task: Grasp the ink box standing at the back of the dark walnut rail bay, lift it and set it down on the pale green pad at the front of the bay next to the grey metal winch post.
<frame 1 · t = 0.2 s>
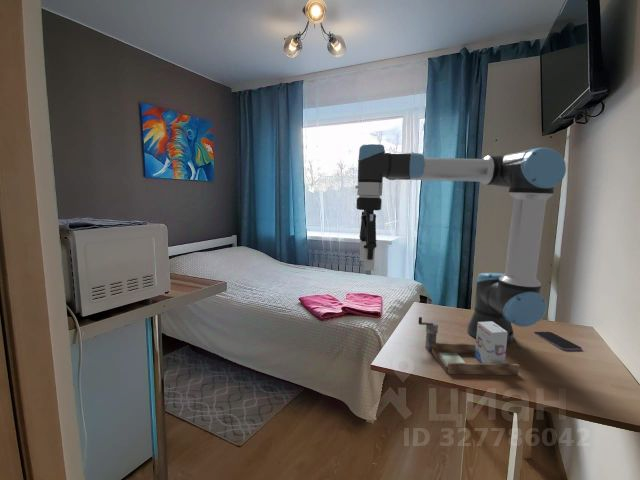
hand: (366, 265, 107), 28 cm above the table, fingers open, 13 cm apart
smartphone: (556, 342, 121), on the table
bay: (472, 362, 103), on the table
ink box: (488, 363, 104), on the table
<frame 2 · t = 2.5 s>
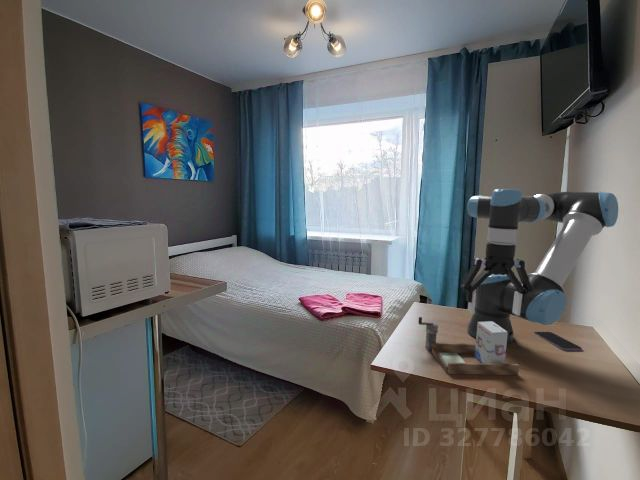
hand: (493, 313, 101), 16 cm above the table, fingers open, 13 cm apart
nothing on the table moved.
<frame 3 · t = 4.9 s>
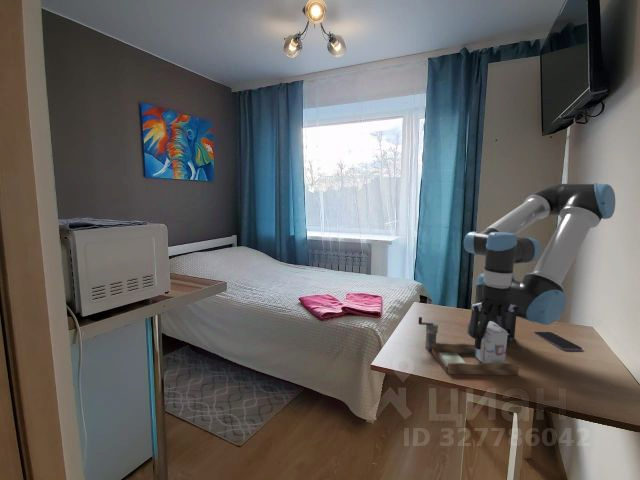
hand: (489, 358, 103), 1 cm above the table, fingers closed on ink box, 5 cm apart
ink box: (488, 363, 104), on the table, touching gripper
everything else where it was.
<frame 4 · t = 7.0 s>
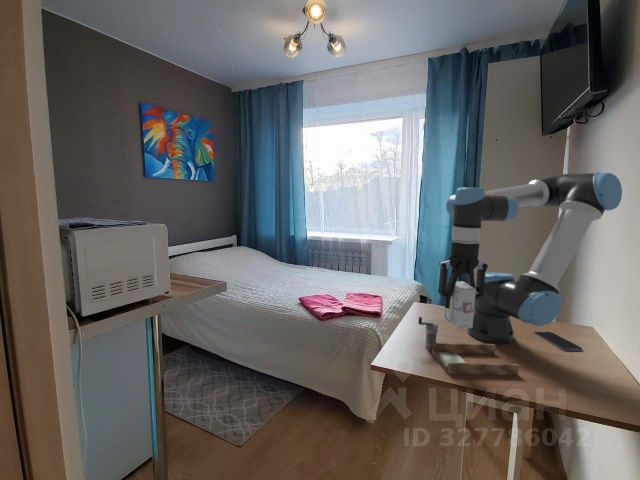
hand: (458, 318, 101), 14 cm above the table, fingers closed on ink box, 5 cm apart
ink box: (457, 323, 102), point 12 cm above the table, touching gripper
everything else where it was.
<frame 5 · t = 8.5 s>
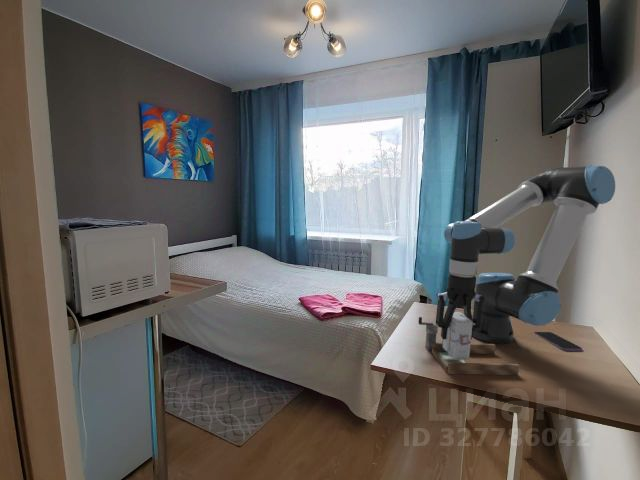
hand: (455, 349, 103), 4 cm above the table, fingers closed on ink box, 5 cm apart
ink box: (454, 353, 103), point 3 cm above the table, touching gripper
everything else where it was.
when the fingers open (3 cm above the table, at t = 9.5 s): ink box drops 1 cm, resting on bay.
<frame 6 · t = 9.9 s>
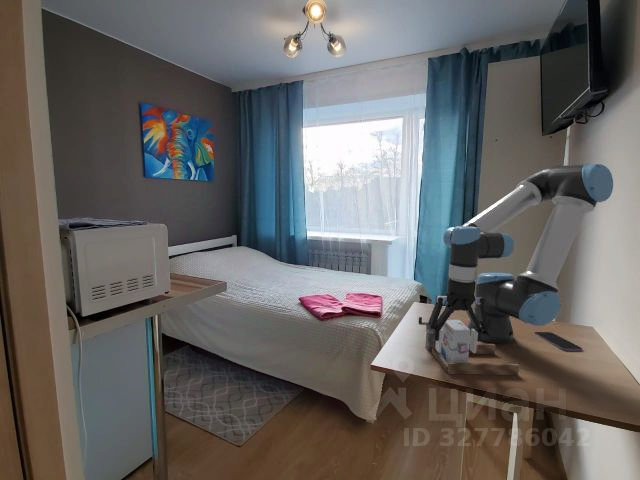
hand: (455, 350, 103), 4 cm above the table, fingers open, 10 cm apart
ink box: (453, 361, 103), resting on bay
everything else where it was.
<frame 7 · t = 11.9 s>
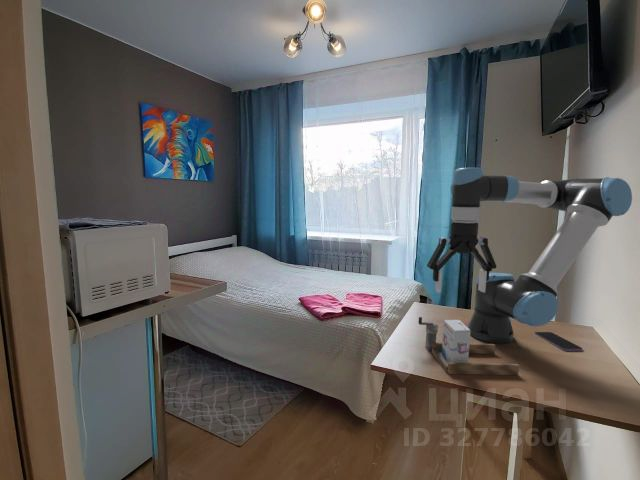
hand: (459, 291, 103), 21 cm above the table, fingers open, 13 cm apart
nothing on the table moved.
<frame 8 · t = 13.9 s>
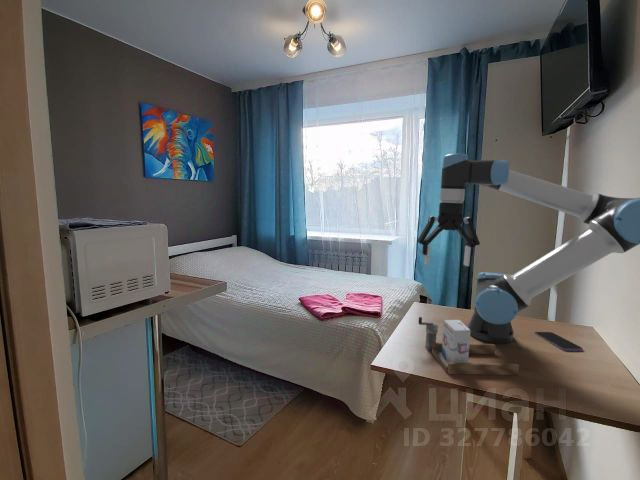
hand: (446, 265, 115), 27 cm above the table, fingers open, 13 cm apart
nothing on the table moved.
at the end: ink box inside the target area on the bay (0.0 cm from its centre), point 0.1 cm above the bay's base; ink box tilted 0°; the gripper is holding nothing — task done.
